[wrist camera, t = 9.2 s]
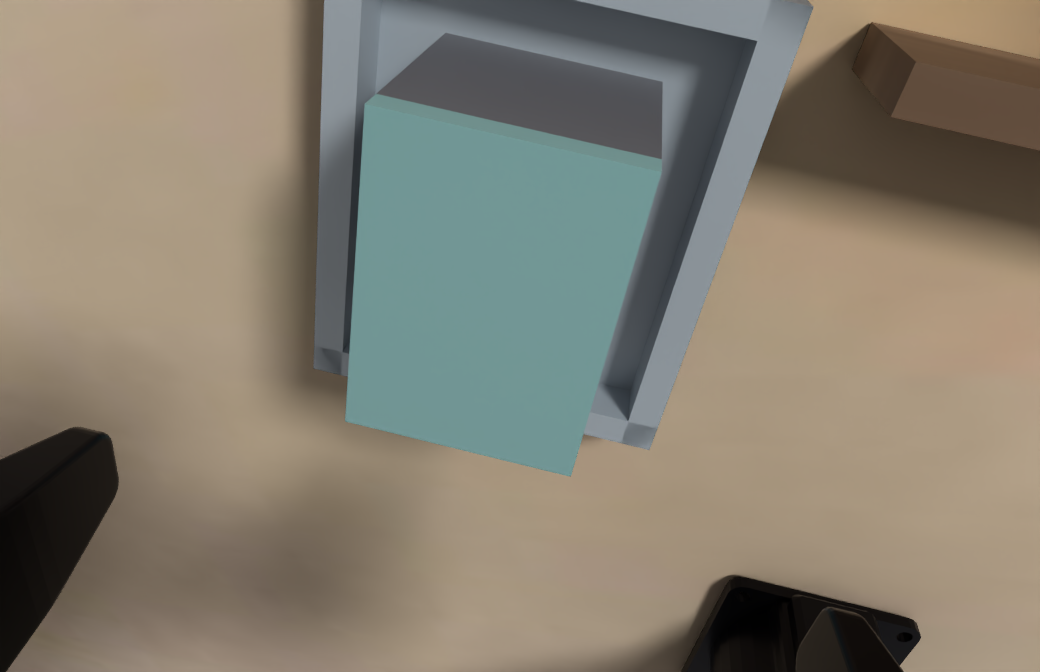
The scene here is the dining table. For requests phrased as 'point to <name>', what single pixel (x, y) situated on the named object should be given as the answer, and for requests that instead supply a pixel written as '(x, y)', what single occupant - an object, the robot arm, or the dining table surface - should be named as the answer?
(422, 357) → the teal rectangular block
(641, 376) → the tray
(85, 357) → the dining table surface
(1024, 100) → the bay
